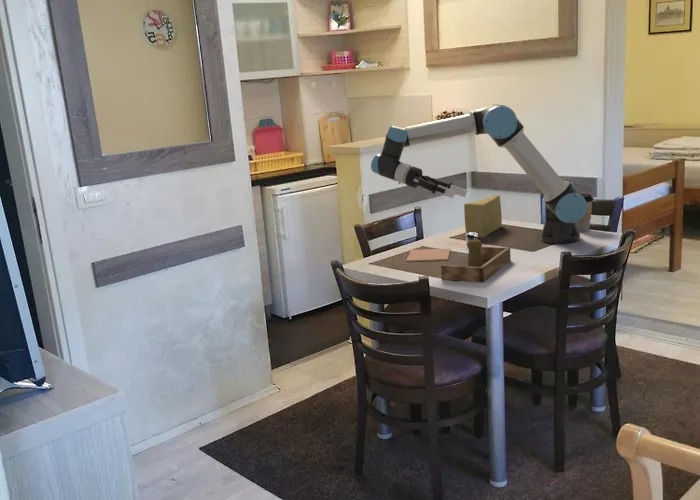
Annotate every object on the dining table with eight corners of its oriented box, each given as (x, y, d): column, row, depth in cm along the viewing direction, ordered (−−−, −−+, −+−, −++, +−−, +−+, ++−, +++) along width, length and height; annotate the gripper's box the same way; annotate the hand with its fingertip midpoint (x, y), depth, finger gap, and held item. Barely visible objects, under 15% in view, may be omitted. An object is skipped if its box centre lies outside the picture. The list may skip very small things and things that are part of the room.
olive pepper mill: (465, 268, 250) (463, 239, 248) (481, 266, 251) (480, 237, 248) (469, 272, 245) (468, 242, 242) (486, 270, 245) (484, 241, 242)
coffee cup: (595, 232, 285) (594, 196, 281) (571, 233, 287) (570, 198, 284) (591, 227, 294) (591, 192, 290) (569, 228, 296) (568, 194, 292)
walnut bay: (441, 279, 240) (440, 265, 239) (472, 258, 263) (471, 245, 262) (482, 282, 232) (482, 268, 231) (510, 260, 255) (510, 247, 254)
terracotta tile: (450, 249, 279) (450, 248, 278) (447, 260, 263) (447, 258, 263) (411, 251, 282) (411, 249, 282) (406, 261, 267) (406, 260, 267)
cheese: (491, 226, 315) (489, 193, 311) (510, 227, 308) (508, 194, 305) (464, 236, 299) (463, 203, 295) (484, 238, 293) (482, 204, 289)
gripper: (418, 184, 270) (467, 202, 262) (392, 185, 248) (444, 205, 240) (424, 166, 268) (473, 184, 260) (398, 165, 246) (451, 184, 238)
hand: (460, 194), depth 250 cm, fingers open, 13 cm apart
